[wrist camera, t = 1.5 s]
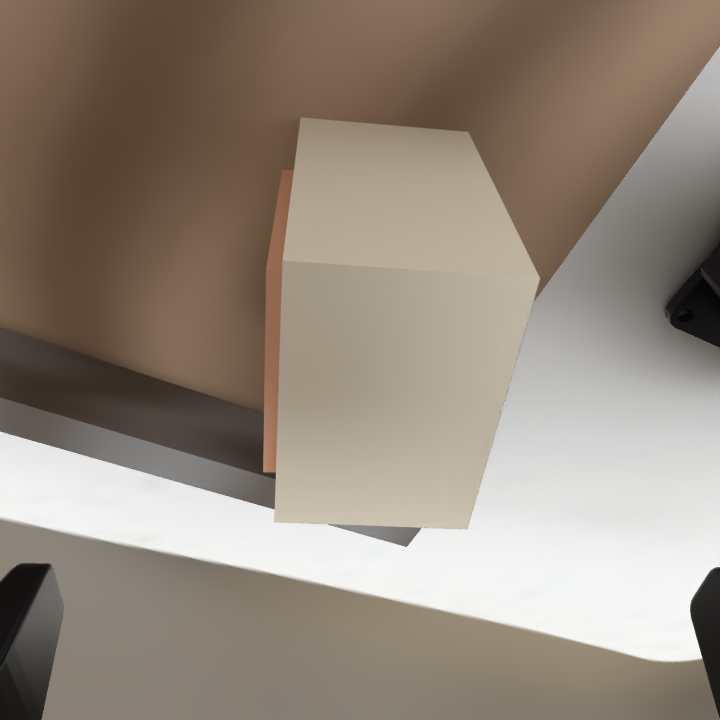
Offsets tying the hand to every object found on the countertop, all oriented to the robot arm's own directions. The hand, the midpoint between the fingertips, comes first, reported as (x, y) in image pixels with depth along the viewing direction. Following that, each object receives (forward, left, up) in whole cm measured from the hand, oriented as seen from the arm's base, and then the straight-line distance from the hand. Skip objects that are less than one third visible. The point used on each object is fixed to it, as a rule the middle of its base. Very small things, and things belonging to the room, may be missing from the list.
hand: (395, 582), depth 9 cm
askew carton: (0, 0, -11) cm, 11 cm away
